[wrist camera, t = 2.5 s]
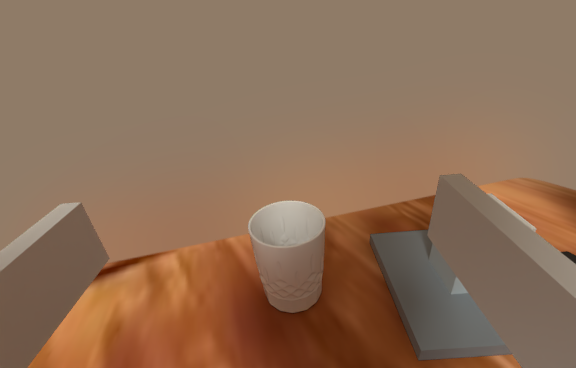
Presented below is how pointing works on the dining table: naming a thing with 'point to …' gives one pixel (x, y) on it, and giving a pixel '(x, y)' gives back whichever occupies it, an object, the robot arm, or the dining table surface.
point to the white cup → (289, 253)
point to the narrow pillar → (434, 298)
